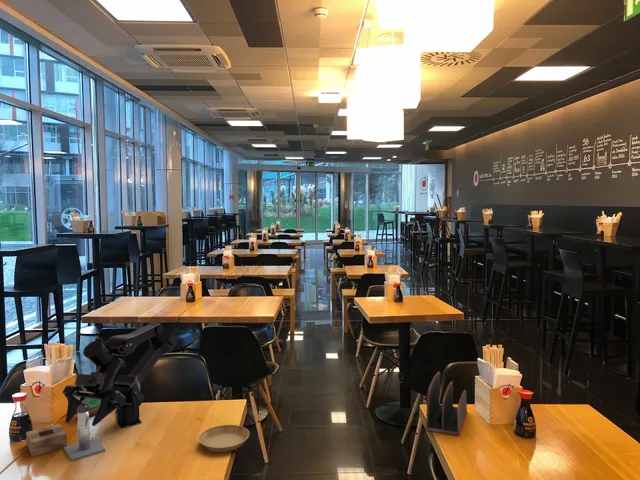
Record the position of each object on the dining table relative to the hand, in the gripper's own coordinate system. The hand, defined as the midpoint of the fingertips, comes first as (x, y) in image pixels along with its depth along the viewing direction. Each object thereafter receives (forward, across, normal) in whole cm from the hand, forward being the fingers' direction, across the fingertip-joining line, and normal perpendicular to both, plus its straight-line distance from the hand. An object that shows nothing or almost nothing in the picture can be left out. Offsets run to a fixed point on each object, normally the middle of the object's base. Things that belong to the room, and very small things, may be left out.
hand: (79, 423), depth 141 cm
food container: (-10, -16, +23) cm, 30 cm away
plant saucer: (-5, +37, +18) cm, 42 cm away
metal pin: (+4, 0, +6) cm, 8 cm away
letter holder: (-29, +100, +42) cm, 112 cm away
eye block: (+6, -13, +6) cm, 15 cm away
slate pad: (+5, 0, +7) cm, 8 cm away
